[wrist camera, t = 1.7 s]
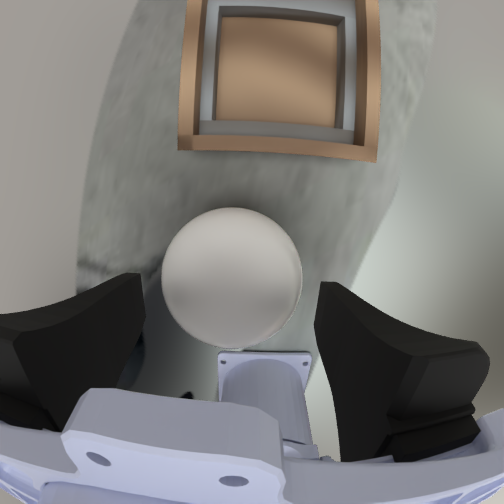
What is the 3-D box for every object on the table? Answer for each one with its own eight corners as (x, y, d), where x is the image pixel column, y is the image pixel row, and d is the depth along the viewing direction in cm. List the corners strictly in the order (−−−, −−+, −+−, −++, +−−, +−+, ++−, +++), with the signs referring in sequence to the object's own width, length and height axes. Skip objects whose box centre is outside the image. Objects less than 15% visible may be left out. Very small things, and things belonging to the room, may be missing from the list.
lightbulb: (179, 203, 20) (113, 268, 10) (266, 169, 20) (282, 203, 9) (215, 281, 23) (190, 390, 12) (296, 253, 22) (331, 352, 12)
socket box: (351, 157, 19) (376, 162, 15) (193, 147, 19) (177, 150, 15) (353, -17, 14) (373, -44, 10) (206, -29, 14) (196, -60, 10)
